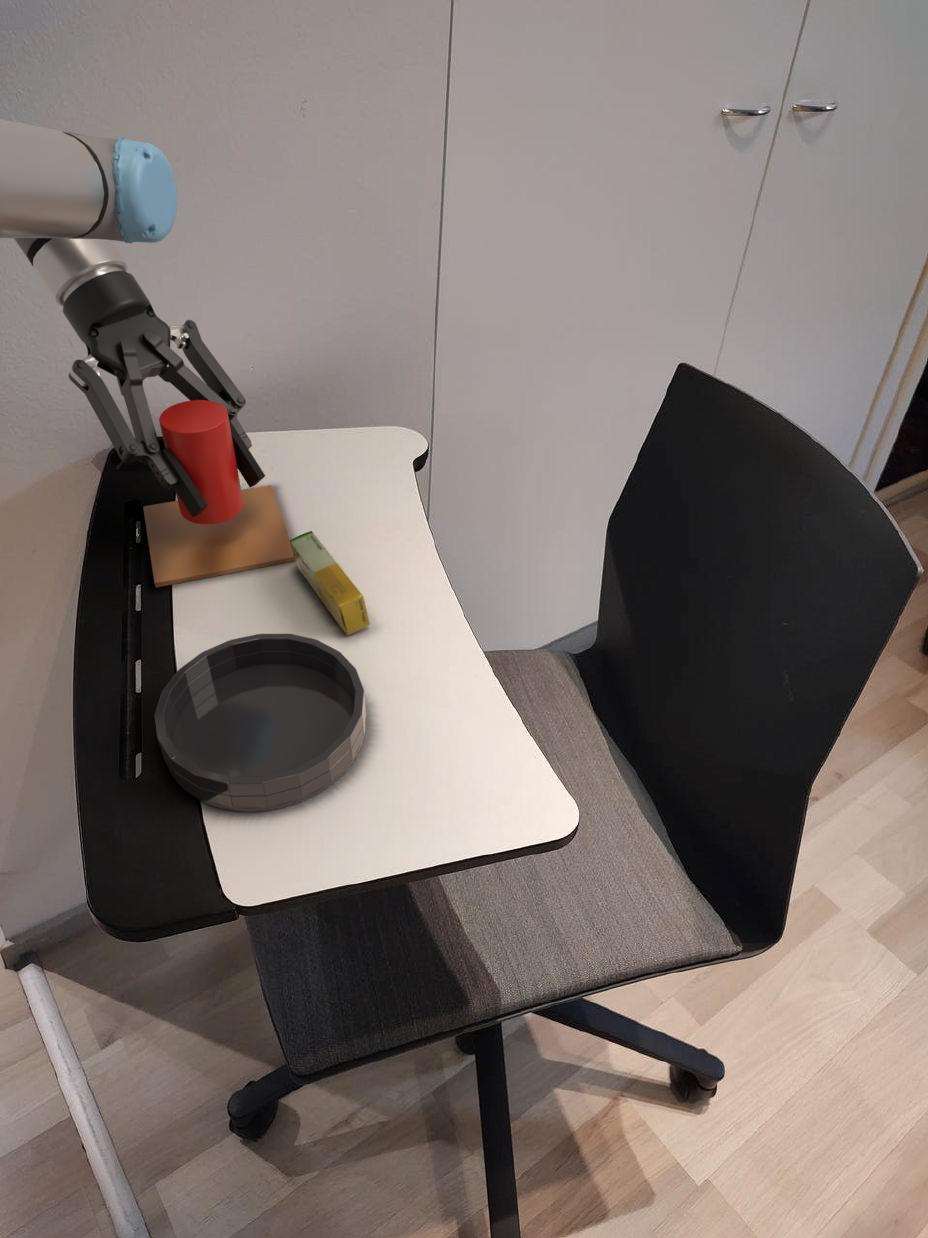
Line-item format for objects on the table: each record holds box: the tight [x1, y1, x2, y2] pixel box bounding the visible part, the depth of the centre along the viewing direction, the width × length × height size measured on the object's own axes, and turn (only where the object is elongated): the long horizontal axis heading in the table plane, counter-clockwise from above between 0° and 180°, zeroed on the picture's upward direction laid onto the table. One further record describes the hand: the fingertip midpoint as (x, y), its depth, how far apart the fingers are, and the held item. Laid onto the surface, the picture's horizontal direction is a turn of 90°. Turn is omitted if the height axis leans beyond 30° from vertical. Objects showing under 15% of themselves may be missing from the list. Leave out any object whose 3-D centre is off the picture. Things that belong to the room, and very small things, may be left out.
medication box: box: [290, 530, 371, 636], centre depth 85 cm, size 12×3×4 cm, turn 31°
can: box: [158, 400, 243, 524], centre depth 88 cm, size 6×6×10 cm
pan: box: [154, 633, 367, 813], centre depth 72 cm, size 16×16×4 cm
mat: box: [142, 484, 296, 588], centre depth 94 cm, size 14×14×1 cm
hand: (229, 496), depth 88 cm, fingers closed on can, 6 cm apart
